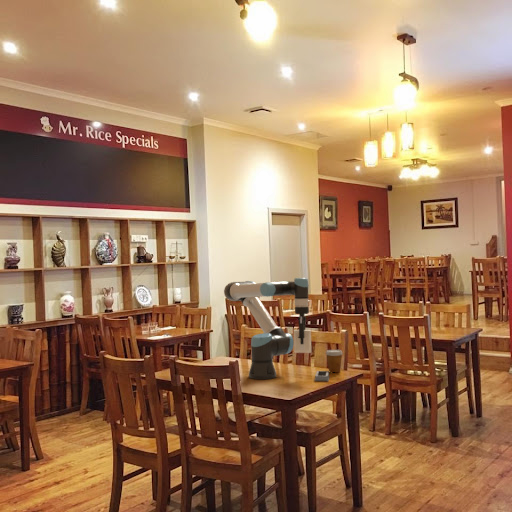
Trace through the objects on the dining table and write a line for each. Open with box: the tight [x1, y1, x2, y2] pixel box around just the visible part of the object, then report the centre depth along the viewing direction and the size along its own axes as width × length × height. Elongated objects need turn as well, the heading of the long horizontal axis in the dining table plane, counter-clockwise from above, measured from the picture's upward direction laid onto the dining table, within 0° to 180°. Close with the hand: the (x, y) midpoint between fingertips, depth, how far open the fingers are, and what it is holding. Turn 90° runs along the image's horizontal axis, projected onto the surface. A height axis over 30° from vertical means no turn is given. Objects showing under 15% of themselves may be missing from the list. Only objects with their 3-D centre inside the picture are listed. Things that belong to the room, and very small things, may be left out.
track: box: [314, 370, 330, 382], centre depth 296 cm, size 7×14×3 cm, turn 170°
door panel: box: [293, 329, 312, 354], centre depth 298 cm, size 9×3×12 cm, turn 80°
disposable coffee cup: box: [325, 349, 343, 373], centre depth 313 cm, size 10×10×12 cm
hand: (302, 349), depth 298 cm, fingers closed on door panel, 3 cm apart
